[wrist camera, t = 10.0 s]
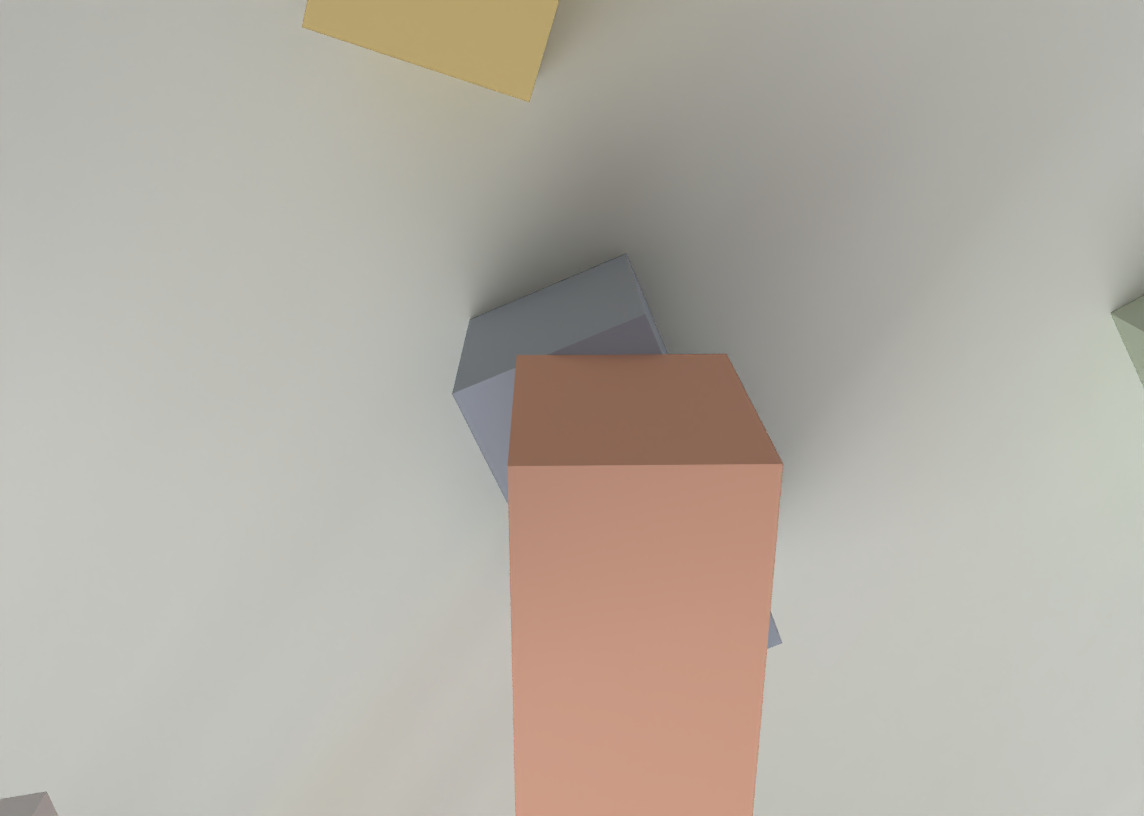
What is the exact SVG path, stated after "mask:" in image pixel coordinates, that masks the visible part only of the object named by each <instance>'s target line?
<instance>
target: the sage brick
mask: <svg viewBox="0 0 1144 816" xmlns="http://www.w3.org/2000/svg"><path fill="white" fill-rule="evenodd" d="M1111 315H1112V318H1113V320H1114V322H1115V324H1116V326H1117V329H1118V331H1119V333H1120V335H1121V338H1122V340H1123V342H1124V344H1125V347H1126V349H1127V351H1128V353H1129V356H1130V358H1131V360H1132V362H1133V365H1134V367H1135V369H1136V371H1137V374H1138V376H1139V378H1140V380H1141V383H1142V385H1143V387H1144V295H1143V296H1141V297H1139V298H1137V299H1136V300H1134V301H1132V302H1130V303H1128V304H1127V305H1125V306H1123V307H1121V308H1119V309H1118V310H1116V311H1114V312H1112V313H1111Z"/></svg>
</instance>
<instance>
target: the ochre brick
mask: <svg viewBox="0 0 1144 816" xmlns="http://www.w3.org/2000/svg"><path fill="white" fill-rule="evenodd" d="M558 3H559V0H308V1H307V5H306V10H305V15H304V20H303V24H302V27H303V28H306V29H309V30H312V31H315V32H318V33H321V34H324V35H327V36H330V37H333V38H336V39H339V40H342V41H345V42H349V43H352V44H355V45H358V46H361V47H364V48H367V49H370V50H373V51H376V52H379V53H382V54H385V55H388V56H391V57H394V58H397V59H400V60H403V61H406V62H409V63H412V64H415V65H418V66H421V67H424V68H427V69H430V70H433V71H437V72H440V73H443V74H446V75H449V76H452V77H455V78H458V79H461V80H464V81H467V82H470V83H473V84H476V85H479V86H482V87H485V88H488V89H491V90H494V91H497V92H500V93H503V94H506V95H509V96H512V97H515V98H518V99H521V100H524V101H528V102H530V98H531V95H532V91H533V88H534V85H535V81H536V78H537V74H538V71H539V68H540V64H541V61H542V57H543V54H544V51H545V47H546V44H547V40H548V37H549V34H550V30H551V27H552V23H553V20H554V17H555V13H556V10H557V6H558Z"/></svg>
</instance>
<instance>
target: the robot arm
mask: <svg viewBox="0 0 1144 816" xmlns="http://www.w3.org/2000/svg"><path fill="white" fill-rule="evenodd" d="M0 816H58V814H57V812H56V810H55V808H54V806H53V804H52V802H51V800H50V798H49V796H48V793H47V792H41V793H34V794H28V795H22V796H16V797H10V798H4V799H0Z"/></svg>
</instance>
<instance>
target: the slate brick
mask: <svg viewBox="0 0 1144 816" xmlns="http://www.w3.org/2000/svg"><path fill="white" fill-rule="evenodd" d="M621 354H668V353H667V351H666V349H665V346H664V344H663V341H662V339H661V336H660V334H659V332H658V329H657V327H656V324H655V322H654V319H653V317H652V315H651V312H650V310H649V307H648V305H647V303H646V300H645V298H644V295H643V293H642V290H641V288H640V286H639V283H638V281H637V278H636V276H635V274H634V271H633V269H632V266H631V264H630V261H629V259H628V257H627V254H624V255H622V256H619V257H617V258H614V259H612V260H610V261H607V262H605V263H603V264H600V265H598V266H596V267H593V268H591V269H588V270H586V271H584V272H581V273H579V274H577V275H574V276H572V277H569V278H567V279H565V280H562V281H560V282H558V283H555V284H553V285H551V286H548V287H546V288H543V289H541V290H539V291H536V292H534V293H532V294H529V295H527V296H525V297H522V298H520V299H517V300H515V301H513V302H510V303H508V304H506V305H503V306H501V307H499V308H496V309H494V310H491V311H489V312H487V313H484V314H482V315H480V316H477V317H475V318H472V319H470V321H469V325H468V330H467V334H466V338H465V342H464V346H463V351H462V355H461V359H460V363H459V367H458V372H457V376H456V380H455V384H454V388H453V393H452V394H453V396H454V398H455V400H456V402H457V404H458V406H459V408H460V410H461V412H462V414H463V416H464V418H465V420H466V422H467V424H468V426H469V428H470V430H471V432H472V434H473V436H474V438H475V440H476V442H477V444H478V446H479V448H480V450H481V452H482V454H483V456H484V458H485V460H486V462H487V464H488V466H489V468H490V470H491V471H492V473H493V475H494V477H495V479H496V481H497V483H498V485H499V487H500V489H501V491H502V493H503V495H504V497H505V499H506V501H507V503H508V455H509V443H510V431H511V418H512V406H513V394H514V381H515V369H516V357H517V355H621ZM781 643H782V641H781V638H780V636H779V633H778V630H777V627H776V625H775V622H774V619H773V617H772V614H771V611H770V622H769V633H768V645H767V649H768V648H770V647H773V646H776V645H779V644H781Z"/></svg>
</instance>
